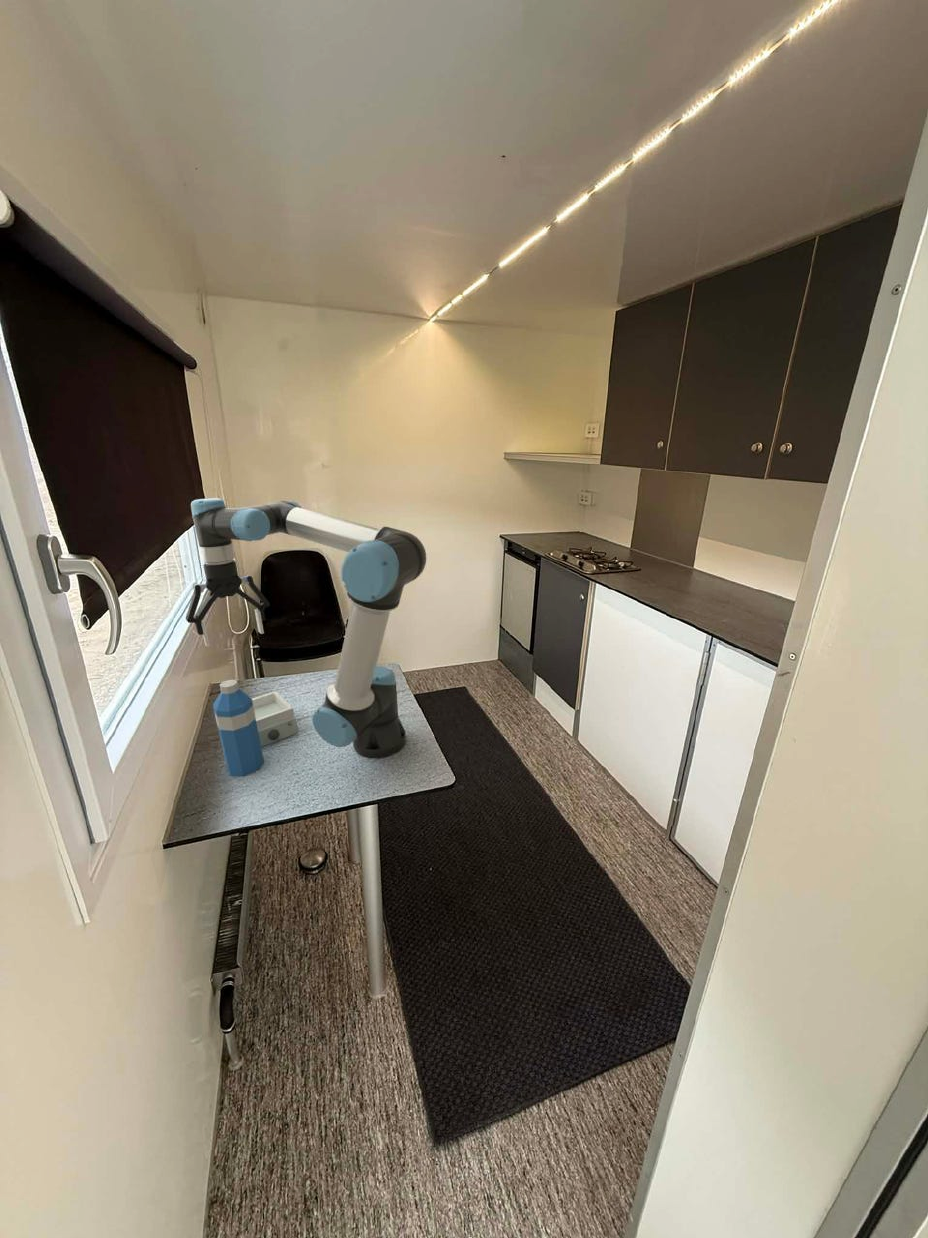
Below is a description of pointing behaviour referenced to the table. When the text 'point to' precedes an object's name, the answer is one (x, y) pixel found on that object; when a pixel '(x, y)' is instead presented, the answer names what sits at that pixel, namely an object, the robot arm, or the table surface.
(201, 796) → the table surface
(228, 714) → the water bottle
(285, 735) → the open storage box
